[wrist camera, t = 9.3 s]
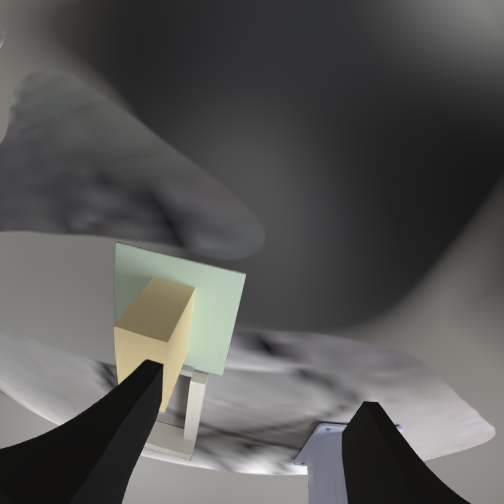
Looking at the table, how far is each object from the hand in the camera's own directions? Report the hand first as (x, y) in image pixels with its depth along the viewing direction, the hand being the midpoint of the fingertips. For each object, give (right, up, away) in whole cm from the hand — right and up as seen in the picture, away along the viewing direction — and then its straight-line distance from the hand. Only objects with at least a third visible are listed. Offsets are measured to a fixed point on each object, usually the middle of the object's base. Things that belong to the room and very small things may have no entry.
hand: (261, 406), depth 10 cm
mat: (-6, +1, +11) cm, 13 cm away
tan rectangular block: (-6, +1, +11) cm, 13 cm away
